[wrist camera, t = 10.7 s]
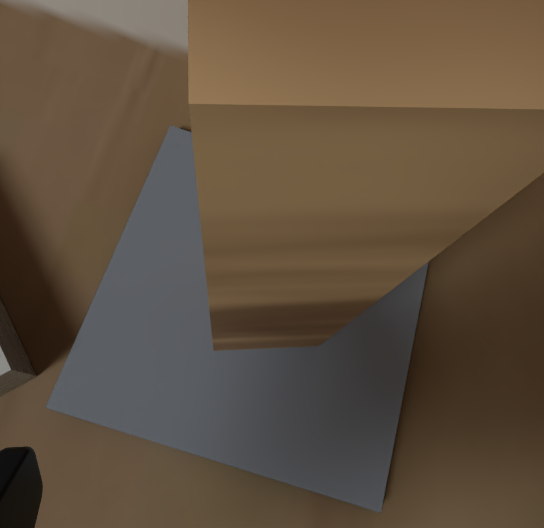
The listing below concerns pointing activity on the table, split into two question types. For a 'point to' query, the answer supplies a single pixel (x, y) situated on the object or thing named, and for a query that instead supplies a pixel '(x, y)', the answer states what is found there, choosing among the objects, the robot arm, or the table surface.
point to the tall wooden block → (351, 148)
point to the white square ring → (12, 356)
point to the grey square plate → (233, 360)
